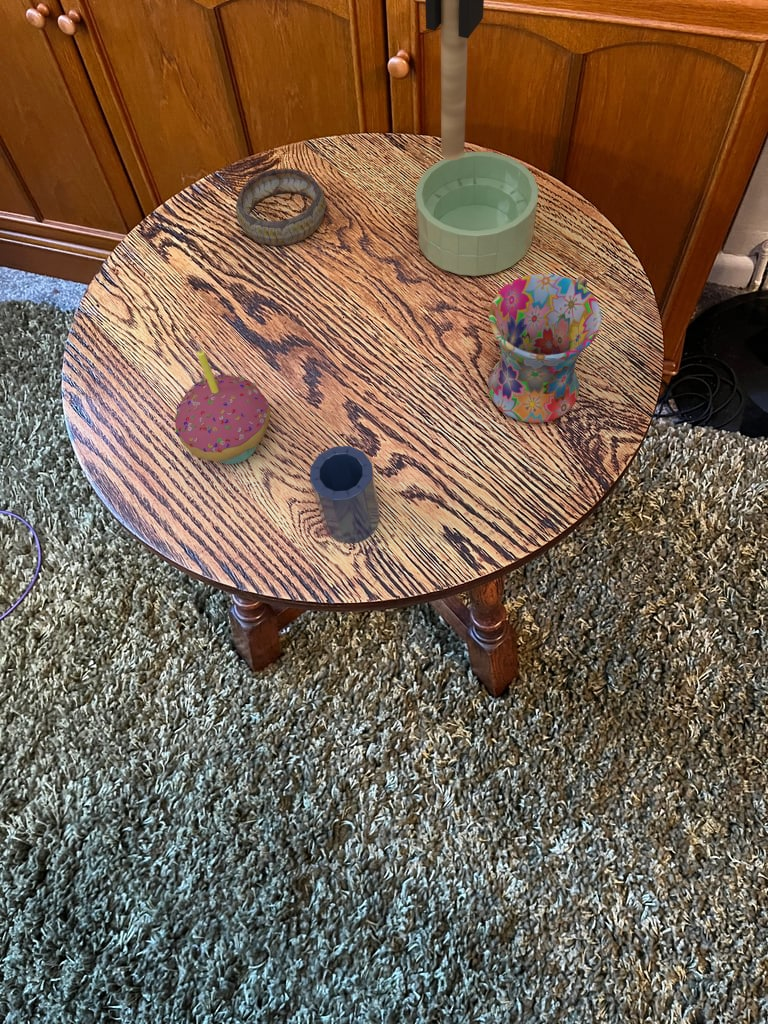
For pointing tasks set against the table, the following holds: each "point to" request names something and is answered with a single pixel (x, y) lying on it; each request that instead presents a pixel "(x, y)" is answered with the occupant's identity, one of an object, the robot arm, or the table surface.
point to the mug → (540, 344)
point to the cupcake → (222, 417)
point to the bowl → (476, 213)
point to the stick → (452, 82)
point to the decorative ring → (273, 185)
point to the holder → (345, 493)
